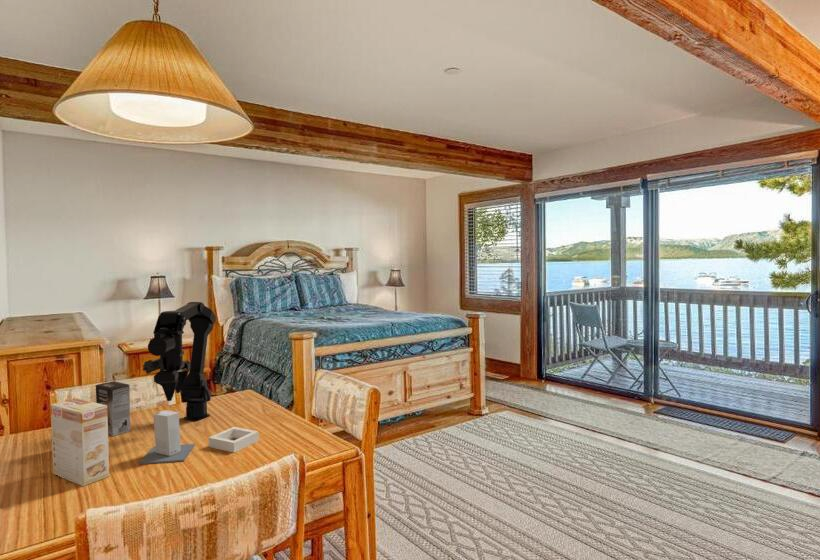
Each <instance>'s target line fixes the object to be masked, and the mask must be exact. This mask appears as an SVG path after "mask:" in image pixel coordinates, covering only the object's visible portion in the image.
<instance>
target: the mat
mask: <svg viewBox="0 0 820 560" xmlns="http://www.w3.org/2000/svg"><path fill="white" fill-rule="evenodd" d="M195 445H196V444H195V443H189V444H186V443H185V444H180V446H181V451H180V452H179V453H176V454H174V455H172V456H167V455H163V454H158V453H156V447H155V446H152V448H151V449H150V450H148V452H147V453H146V455H144V456H143V457H142V459H141V460H139V462H138V465H150V464H165V463H167V464H168V463H181V462H184V461H185V460H186V459H187V458H188V456H189V455H190V453H191V452H192V451H193V449H194V448H195Z"/></svg>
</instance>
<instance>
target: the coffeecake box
mask: <svg viewBox="0 0 820 560" xmlns="http://www.w3.org/2000/svg"><path fill="white" fill-rule="evenodd" d="M50 420H51V421H50V422H51V423H50V424H51V426H50V427H51V447H52V448H51V450H52V451H51V452H52V454H51V455H52V474H53V473H54V474H56V475H58V476H57V477H59V476H60V477H59V478H61V477H62V478H61V479H64V478H65V479H64V480H66V479H67V481H69V482H71V483H73V484H76V485H79V486H82V487H85V486H88V485H90V484H92V483H95V482H99V481H102V480H104V479H106V478H109V477H110V476H111V475H110V460H109V459H110V458H109V457H110V454H109V453H110V452H109V435H108V416H107V405H103V404H99V403H96V402H93V401H89V400H85V399H81V398H72V399H67V400H63V401H59V402H55V403H51V404H50ZM54 474H53V475H54ZM56 475H55V476H56Z"/></svg>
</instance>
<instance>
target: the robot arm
mask: <svg viewBox="0 0 820 560" xmlns="http://www.w3.org/2000/svg"><path fill="white" fill-rule="evenodd" d="M187 321H188V322H189V324H190V325H189V326H190V329H191V331H192V333H193V339H192V340H193V341H192V347H191V348H192V349H191V357H190V361H189V360H184V359H183V358H184V357H183V356H184V355H185V351H184V350H183V334H184V333H185V332H184V328H185V326H186V325H187ZM216 321H217V319H216V314H215V313H214V311H213V310H212V309H211V308H210V307H207V306H205V304H204V302H201V301H189V302H187V303H186V304H184V305H183V306H181V307H178V308H177V309H175V310H166V311H164V310H163V311H162V312H160V313H159V315H158V317H157V320H156V322H155V325H154V326H155V327H154V329H153V337H152V338H151V339H149V340H150V341H148V344H147V350H148V352H149V353H150V354H151V355H153V357H154V356H155V357H159V358H156V359H154V360H152V359H149V360H146V361H144V363H143V365H142V371H144V372H145V373H146V374H147V375H148V374H151V373H152V372H156V371H157V373H155V374H154V376H153V383H156V384H157V385H159V386H160V387H161V389H162V390H163V392H164V395H165V397H166V401H167V402H171V401H172V400H173V397H174V394H175V393H176V394H180V398H181V402H182V403H183V404H184V403H186V407H185V416H184V417H183V419H185V420H189V421H190V420H191V421H194V422H198V421H199V420H200V421H201V420H203V419H206V418H208V417H210V416H211V414H210V413H208V402H210V401H211V398H212V392H211V390H210V389H209V387H208V381H207V379H206V377H205V375H204V372H205V362H206V354H207V353H206V352H207V344H208V336H209V335H210V333H211V332H212V331H213V329H214V327H215V323H216ZM158 370H159V371H158Z"/></svg>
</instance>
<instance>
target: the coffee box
mask: <svg viewBox="0 0 820 560" xmlns="http://www.w3.org/2000/svg"><path fill="white" fill-rule="evenodd" d="M130 391H131V389H130V384H128V383H123V382H119V381H115V380H114V381H108V382H102V383H98V384H96V385H95V401H96V402H95V403H99V404H103V405H107V416H108V436H110V437H116V436H118V435H122V434H124V433H127V432H131V400H130V399H131V393H130Z"/></svg>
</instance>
